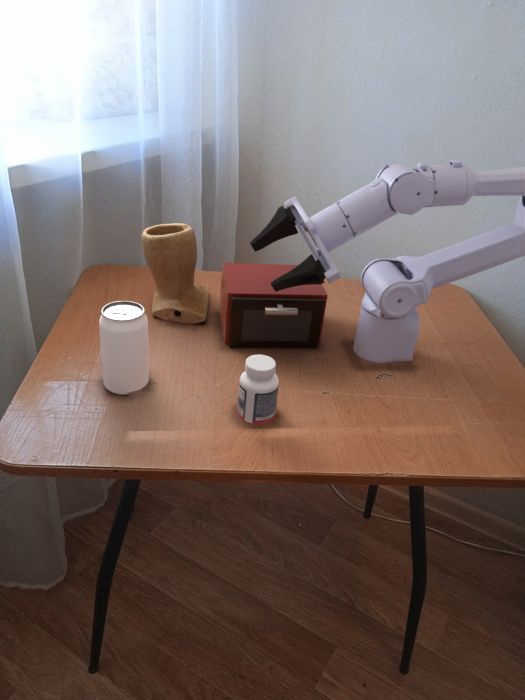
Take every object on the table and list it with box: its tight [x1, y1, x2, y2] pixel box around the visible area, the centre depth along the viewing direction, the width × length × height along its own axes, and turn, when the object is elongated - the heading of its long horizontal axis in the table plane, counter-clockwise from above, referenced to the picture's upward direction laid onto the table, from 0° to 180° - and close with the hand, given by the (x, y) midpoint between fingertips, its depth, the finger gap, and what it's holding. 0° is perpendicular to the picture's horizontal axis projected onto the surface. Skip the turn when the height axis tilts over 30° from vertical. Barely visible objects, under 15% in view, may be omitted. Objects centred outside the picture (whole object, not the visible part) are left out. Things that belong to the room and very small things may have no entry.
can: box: [98, 300, 150, 396], centre depth 78 cm, size 6×6×12 cm
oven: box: [219, 262, 329, 346], centre depth 96 cm, size 16×12×10 cm
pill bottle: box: [236, 354, 280, 425], centre depth 75 cm, size 5×5×9 cm
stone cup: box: [140, 222, 209, 325], centre depth 99 cm, size 15×12×15 cm
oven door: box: [228, 297, 325, 349], centre depth 89 cm, size 15×4×9 cm, turn 98°
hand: (262, 267), depth 82 cm, fingers open, 7 cm apart
